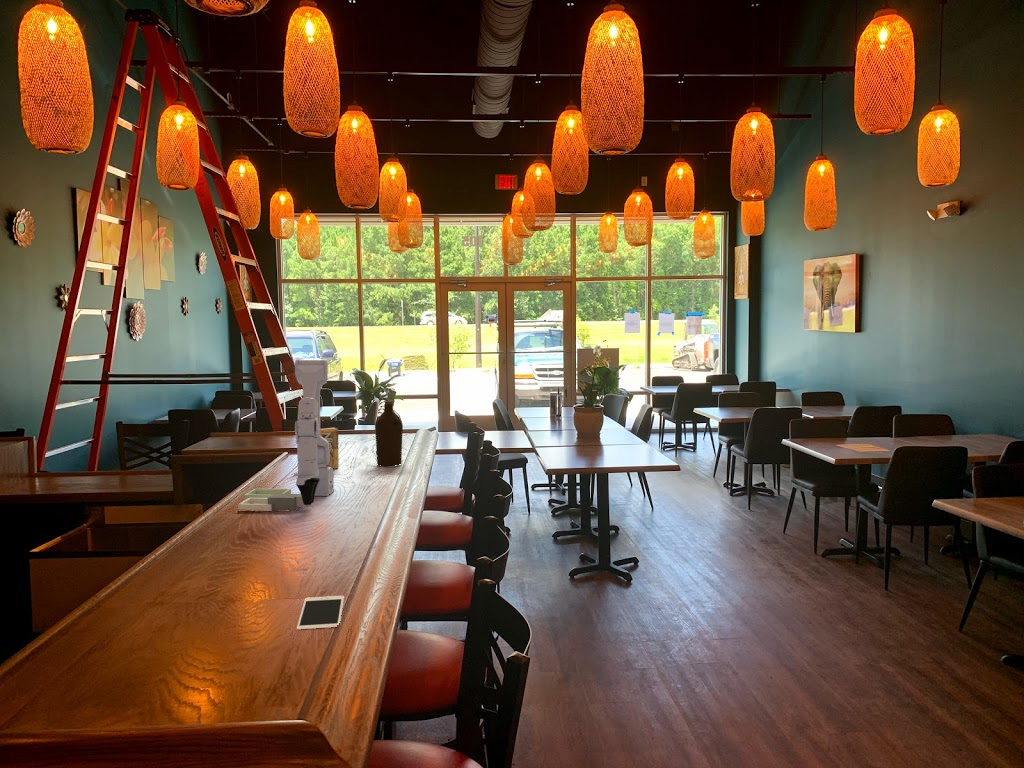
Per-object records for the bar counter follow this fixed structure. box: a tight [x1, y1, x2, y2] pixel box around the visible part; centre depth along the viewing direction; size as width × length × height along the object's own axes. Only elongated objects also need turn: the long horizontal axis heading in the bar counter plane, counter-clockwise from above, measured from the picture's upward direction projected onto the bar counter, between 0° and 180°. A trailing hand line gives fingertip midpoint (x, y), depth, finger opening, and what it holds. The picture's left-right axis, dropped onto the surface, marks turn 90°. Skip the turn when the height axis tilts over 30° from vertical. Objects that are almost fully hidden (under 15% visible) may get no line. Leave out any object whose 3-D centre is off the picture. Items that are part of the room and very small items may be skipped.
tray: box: [243, 488, 292, 501], centre depth 240 cm, size 12×9×2 cm
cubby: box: [237, 498, 273, 512], centre depth 229 cm, size 10×8×2 cm
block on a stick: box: [268, 493, 312, 512], centre depth 229 cm, size 12×5×4 cm, turn 87°
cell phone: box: [295, 595, 345, 631], centre depth 149 cm, size 8×16×1 cm, turn 9°
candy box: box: [317, 427, 340, 469], centre depth 288 cm, size 9×4×15 cm, turn 129°
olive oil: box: [374, 400, 404, 467], centre depth 297 cm, size 11×11×25 cm
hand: (308, 503), depth 229 cm, fingers closed on block on a stick
